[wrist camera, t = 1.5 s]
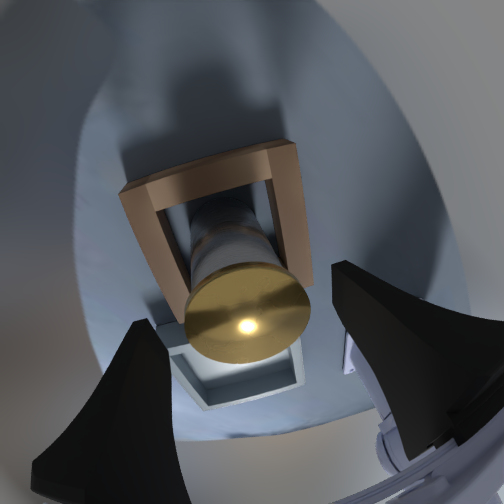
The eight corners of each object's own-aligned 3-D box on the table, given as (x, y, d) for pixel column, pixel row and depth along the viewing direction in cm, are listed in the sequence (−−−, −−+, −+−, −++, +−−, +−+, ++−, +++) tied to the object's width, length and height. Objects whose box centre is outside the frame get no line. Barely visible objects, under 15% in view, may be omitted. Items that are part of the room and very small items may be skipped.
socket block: (283, 138, 14) (295, 143, 12) (303, 268, 19) (313, 284, 17) (127, 183, 14) (118, 194, 12) (179, 304, 18) (179, 323, 17)
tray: (285, 290, 20) (296, 313, 17) (297, 364, 25) (305, 384, 23) (156, 326, 19) (154, 351, 17) (200, 390, 24) (203, 411, 22)
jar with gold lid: (253, 183, 15) (304, 254, 8) (267, 250, 18) (313, 343, 11) (175, 206, 15) (163, 295, 8) (199, 270, 17) (208, 374, 11)
